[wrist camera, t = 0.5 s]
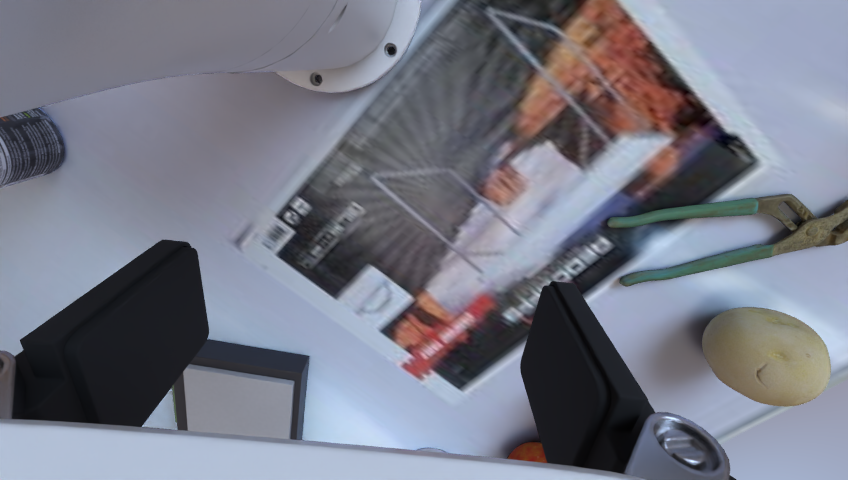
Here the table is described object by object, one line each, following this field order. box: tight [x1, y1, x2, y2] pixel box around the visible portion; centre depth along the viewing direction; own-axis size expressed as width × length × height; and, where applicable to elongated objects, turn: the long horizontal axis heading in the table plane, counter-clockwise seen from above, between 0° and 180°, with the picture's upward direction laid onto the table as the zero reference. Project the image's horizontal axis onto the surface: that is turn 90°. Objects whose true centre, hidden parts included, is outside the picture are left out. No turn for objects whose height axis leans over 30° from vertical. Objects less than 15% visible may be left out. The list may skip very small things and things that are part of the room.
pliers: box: [607, 194, 848, 286], centre depth 32 cm, size 20×6×1 cm, turn 102°
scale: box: [172, 340, 309, 440], centre depth 40 cm, size 14×12×3 cm
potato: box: [702, 307, 831, 406], centre depth 32 cm, size 8×8×8 cm
